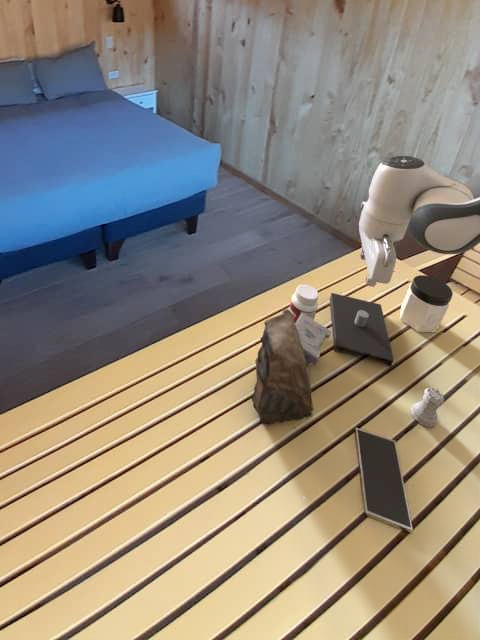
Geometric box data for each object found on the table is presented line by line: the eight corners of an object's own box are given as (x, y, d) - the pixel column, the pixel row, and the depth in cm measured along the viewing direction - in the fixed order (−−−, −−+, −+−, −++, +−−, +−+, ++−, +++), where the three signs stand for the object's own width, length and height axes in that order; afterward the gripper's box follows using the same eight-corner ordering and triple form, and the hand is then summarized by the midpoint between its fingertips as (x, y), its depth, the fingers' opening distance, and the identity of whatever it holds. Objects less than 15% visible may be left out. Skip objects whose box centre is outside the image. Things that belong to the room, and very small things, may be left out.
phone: (394, 443, 79) (395, 440, 79) (411, 533, 67) (413, 531, 66) (354, 429, 82) (355, 427, 81) (364, 514, 69) (365, 512, 69)
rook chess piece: (426, 431, 81) (440, 407, 77) (405, 411, 85) (417, 387, 81) (440, 422, 82) (454, 398, 79) (418, 402, 86) (431, 379, 83)
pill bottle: (283, 314, 108) (290, 282, 103) (305, 313, 108) (314, 282, 103) (291, 333, 103) (299, 300, 98) (315, 333, 103) (325, 300, 97)
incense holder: (309, 387, 90) (319, 356, 85) (273, 365, 95) (280, 334, 90) (323, 357, 96) (333, 327, 91) (289, 338, 101) (296, 308, 96)
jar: (408, 332, 102) (424, 298, 97) (391, 307, 109) (404, 274, 104) (445, 334, 101) (463, 299, 96) (425, 308, 109) (441, 275, 103)
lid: (378, 310, 108) (384, 294, 106) (391, 367, 94) (398, 350, 91) (329, 299, 113) (334, 283, 110) (334, 351, 98) (339, 334, 95)
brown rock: (258, 429, 82) (273, 365, 73) (232, 373, 93) (242, 311, 84) (314, 418, 84) (336, 354, 75) (282, 364, 95) (298, 303, 86)
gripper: (409, 255, 80) (390, 305, 86) (390, 203, 97) (375, 248, 103) (373, 248, 82) (357, 298, 88) (361, 198, 99) (347, 242, 105)
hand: (366, 270), depth 96 cm, fingers open, 8 cm apart
